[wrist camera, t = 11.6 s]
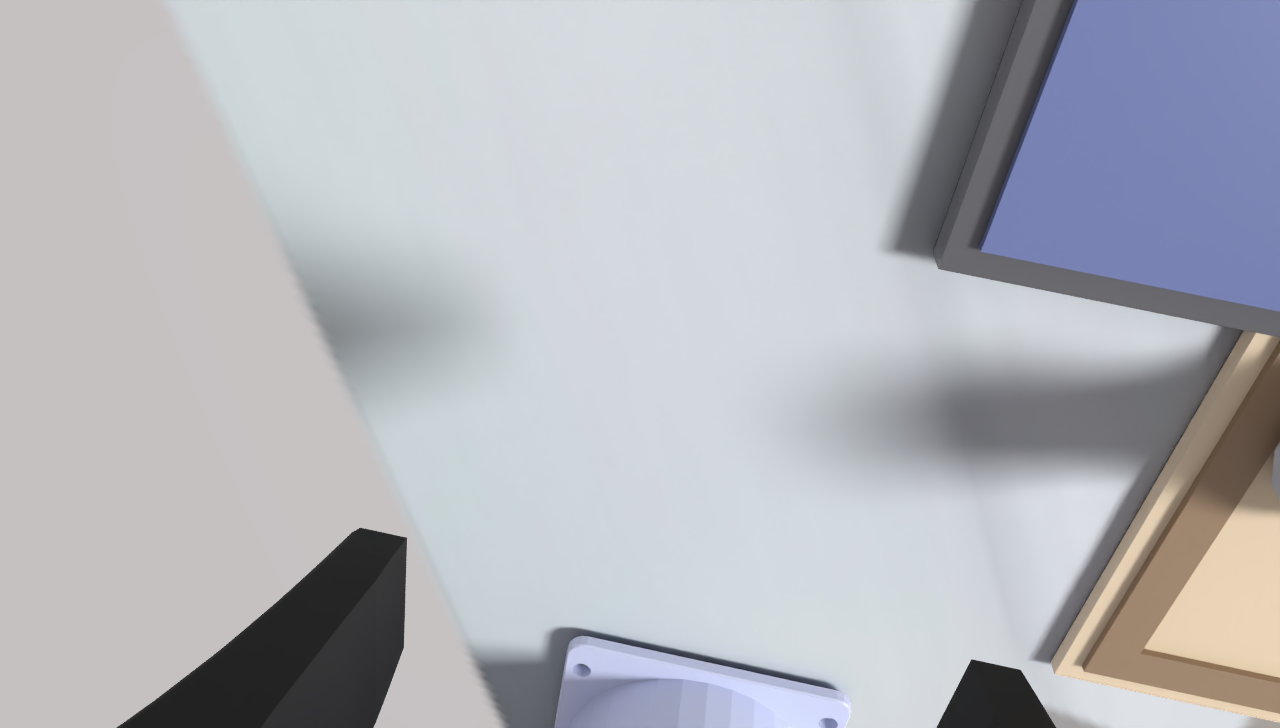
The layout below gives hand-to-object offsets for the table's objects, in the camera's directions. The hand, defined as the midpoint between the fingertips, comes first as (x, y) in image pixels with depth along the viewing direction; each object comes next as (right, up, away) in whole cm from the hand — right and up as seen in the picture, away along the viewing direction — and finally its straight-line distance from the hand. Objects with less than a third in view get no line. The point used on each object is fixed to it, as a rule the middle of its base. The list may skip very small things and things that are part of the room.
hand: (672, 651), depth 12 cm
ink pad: (+10, +8, +5) cm, 14 cm away
